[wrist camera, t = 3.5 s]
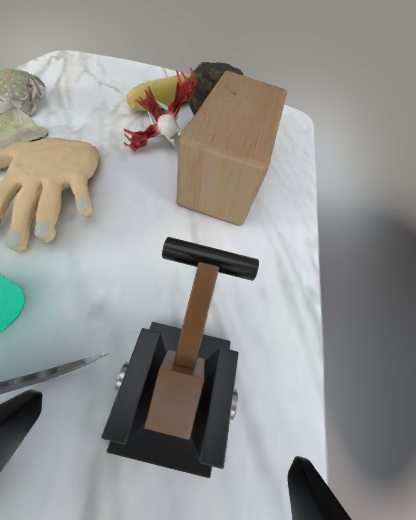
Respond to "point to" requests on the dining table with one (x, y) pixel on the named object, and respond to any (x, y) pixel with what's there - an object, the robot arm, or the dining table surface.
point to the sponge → (18, 128)
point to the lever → (190, 337)
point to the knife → (45, 375)
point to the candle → (9, 302)
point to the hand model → (43, 185)
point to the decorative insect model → (20, 88)
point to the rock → (207, 81)
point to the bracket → (139, 397)
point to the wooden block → (229, 147)
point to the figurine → (163, 114)
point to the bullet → (155, 91)
